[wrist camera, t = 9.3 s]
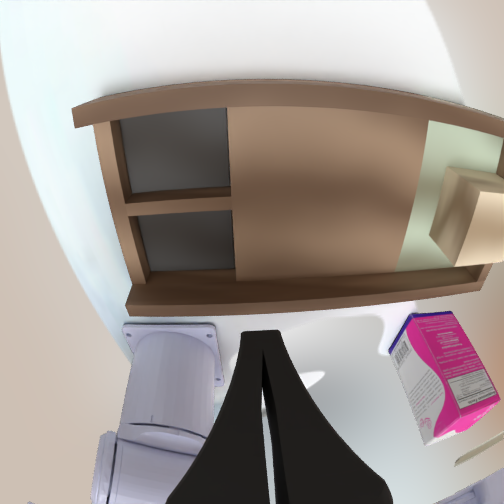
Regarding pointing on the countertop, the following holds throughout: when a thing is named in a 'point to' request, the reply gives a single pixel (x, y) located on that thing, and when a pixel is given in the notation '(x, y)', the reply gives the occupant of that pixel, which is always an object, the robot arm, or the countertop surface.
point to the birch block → (470, 217)
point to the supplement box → (441, 375)
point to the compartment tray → (284, 193)
